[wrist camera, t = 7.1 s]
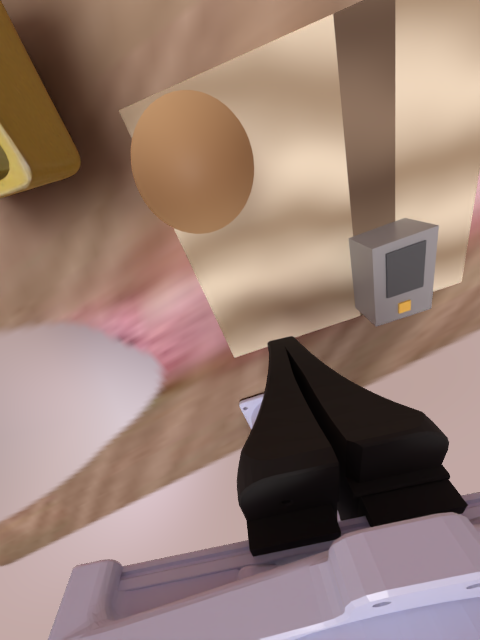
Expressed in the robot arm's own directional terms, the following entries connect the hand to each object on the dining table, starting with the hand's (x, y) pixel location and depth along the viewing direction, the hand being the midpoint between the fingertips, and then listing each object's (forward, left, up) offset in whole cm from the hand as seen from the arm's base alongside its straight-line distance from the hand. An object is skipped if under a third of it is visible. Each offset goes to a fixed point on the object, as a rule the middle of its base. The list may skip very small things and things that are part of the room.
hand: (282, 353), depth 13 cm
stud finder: (-1, -9, -7) cm, 12 cm away
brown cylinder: (+9, +1, -7) cm, 12 cm away
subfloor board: (+4, -6, -9) cm, 11 cm away
